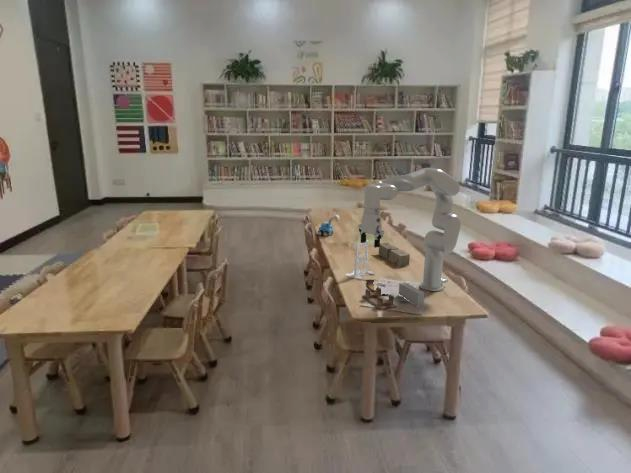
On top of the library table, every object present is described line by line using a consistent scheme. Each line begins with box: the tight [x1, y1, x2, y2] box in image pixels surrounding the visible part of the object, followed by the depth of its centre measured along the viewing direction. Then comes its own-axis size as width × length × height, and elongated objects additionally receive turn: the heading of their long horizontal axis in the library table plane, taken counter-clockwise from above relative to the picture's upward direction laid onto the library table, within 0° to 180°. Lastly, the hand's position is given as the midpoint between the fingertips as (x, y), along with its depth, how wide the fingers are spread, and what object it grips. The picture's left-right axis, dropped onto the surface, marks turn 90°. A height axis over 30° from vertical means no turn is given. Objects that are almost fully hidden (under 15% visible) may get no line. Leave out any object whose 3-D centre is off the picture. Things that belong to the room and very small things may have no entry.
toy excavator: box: [317, 214, 340, 238], centre depth 355 cm, size 9×17×17 cm, turn 57°
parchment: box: [364, 279, 376, 292], centre depth 250 cm, size 25×10×1 cm, turn 14°
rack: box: [361, 287, 397, 311], centre depth 230 cm, size 8×18×5 cm, turn 26°
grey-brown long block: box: [378, 241, 411, 268], centre depth 299 cm, size 8×8×29 cm
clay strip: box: [398, 281, 425, 308], centre depth 233 cm, size 4×16×7 cm, turn 25°
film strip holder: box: [344, 239, 376, 281], centre depth 267 cm, size 14×14×20 cm
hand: (369, 244), depth 226 cm, fingers open, 9 cm apart
